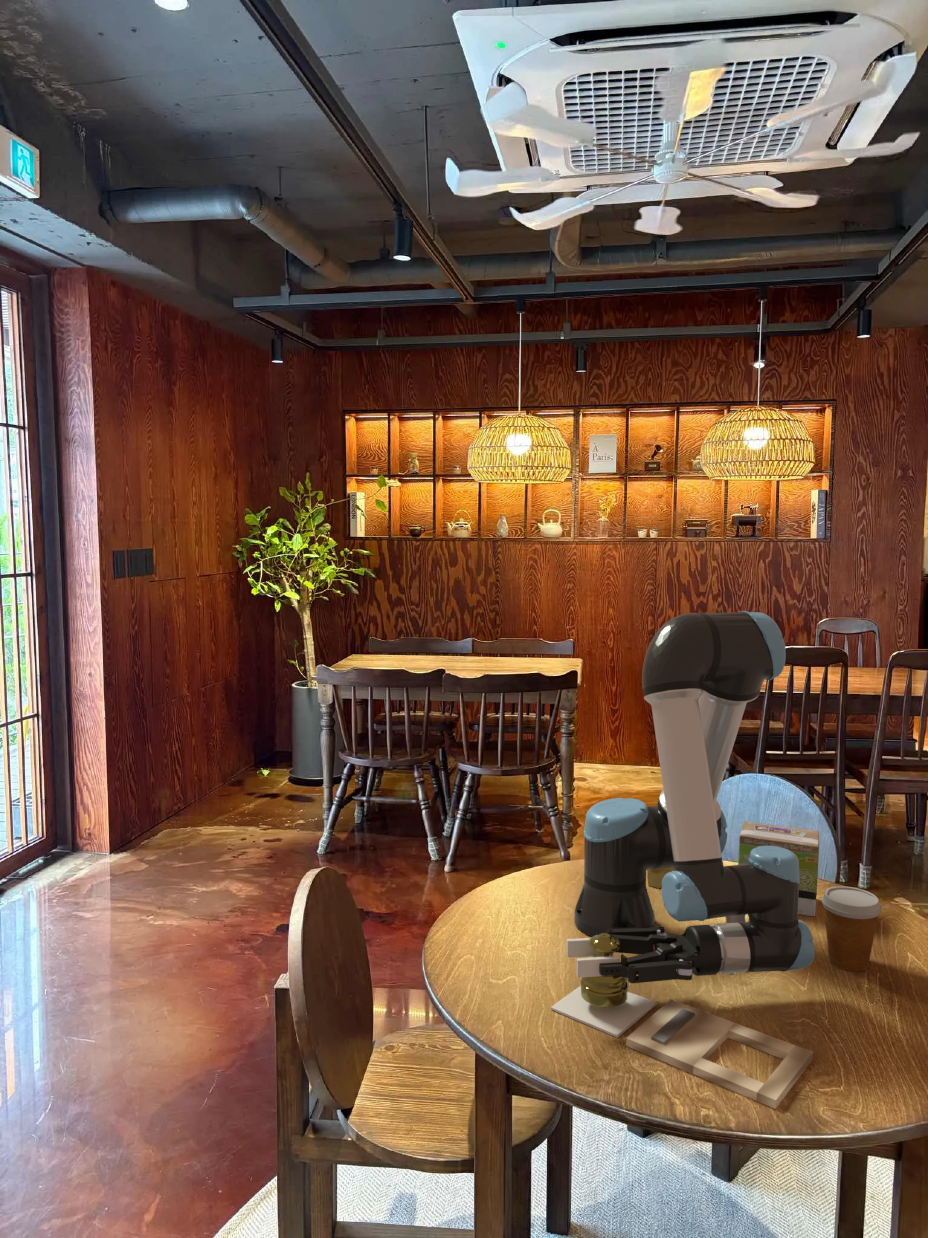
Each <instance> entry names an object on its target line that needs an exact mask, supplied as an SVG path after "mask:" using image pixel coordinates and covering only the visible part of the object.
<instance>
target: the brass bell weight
mask: <svg viewBox="0 0 928 1238" xmlns="http://www.w3.org/2000/svg"><path fill="white" fill-rule="evenodd" d="M589 938H590V939H589V946H590V947H591V948H592V949H594V950H595V952H596V955H595V956H593V957H606V956H614V954H615V953H616V952H615V951H617V950H618V949H619V948H620V947H621V942H620V940H619V939H618V938H616V937H614V936H612V935H610V934H607V933H601V934H598V935H595V936H593V937H592V936H590V937H589ZM579 982H580V983H579V984H580V986H581V996H582V998H583V999H584V1000H585V1001H586V1002H588V1003H590V1004H592V1005H595V1006H599V1007H616V1006H619V1005H621V1004H623V1003H624V1002H625V1001H626V1000H627V998H628V992H629V991H628V989H629V982H628V978H627V977H626V978H624V977H621V975H612V976H596V977H581V979H580V981H579Z"/></svg>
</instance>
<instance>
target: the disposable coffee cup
mask: <svg viewBox="0 0 928 1238" xmlns="http://www.w3.org/2000/svg"><path fill="white" fill-rule="evenodd" d="M821 903H822V906H823V909H824V910H823V911H824V918H825V929H826V940H827V951H828V960H829V963H831V964H832V965H833V966H834V967H837V968H839V969H841V970H845V971H849V972H851V971H852V972H862V971H866V970H867V969H869V968H868V967H869V964H870V959H871V954H872V948H873V943H874V939H875V933H876V927H877V923H878V922H877V921H878V916H879V915H880V912H881V911H882V905H881V903H880V900H879V898H878V897H877V896H876V895H875V894H873V893H872V892H870V891H867V890H864V889H860V888H857V887H851V886H844V885H842V886H831V887H828V888H826V890H824V894H823V895H822V896H821Z"/></svg>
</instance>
